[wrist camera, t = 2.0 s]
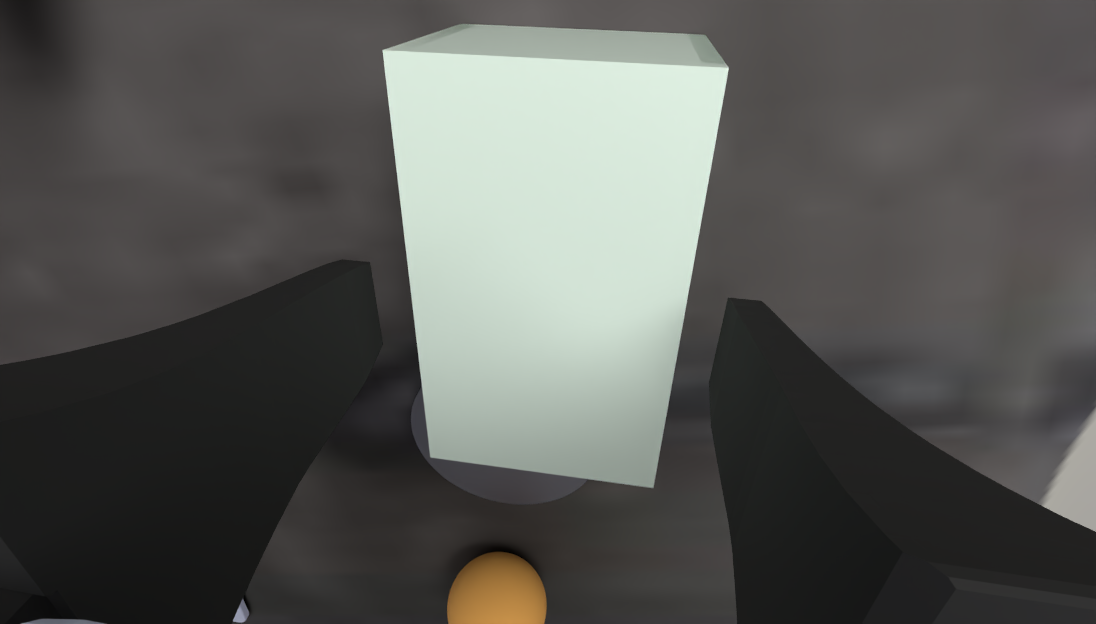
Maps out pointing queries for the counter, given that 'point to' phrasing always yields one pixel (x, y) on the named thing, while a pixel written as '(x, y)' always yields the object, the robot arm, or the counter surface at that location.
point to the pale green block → (551, 236)
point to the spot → (492, 473)
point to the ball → (497, 592)
